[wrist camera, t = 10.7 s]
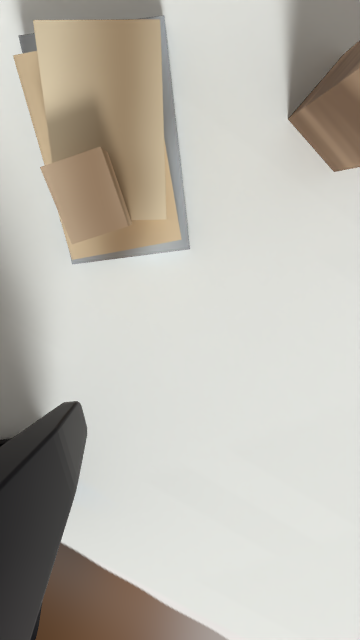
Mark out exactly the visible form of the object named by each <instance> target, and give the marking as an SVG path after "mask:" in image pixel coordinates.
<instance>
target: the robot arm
mask: <svg viewBox="0 0 360 640" xmlns="http://www.w3.org/2000/svg"><path fill="white" fill-rule="evenodd" d="M86 438H87V425H86V422H85V418H84V414H83V410H82V406H81V404H80V403H79V402H78V401H74V402H64V403H62V404H60V405H59V406H58V407H56V408H55V409H53V410H52V411H51V412H49V413H48V414H46V415H45V416H43V417H42V418H41V419H39V420H38V421H36V422H35V423H34V424H32V425H31V426H29V427H28V428H26V429H25V430H24V431H22V432H21V433H19V434H18V435H17V436H15V437H14V438H12V439H8V440H0V640H35V639H36V635H37V631H38V626H39V620H40V613H41V606H42V600H43V596H44V594H45V590H46V587H47V584H48V581H49V577H50V574H51V571H52V568H53V564H54V561H55V558H56V555H57V551H58V548H59V545H60V542H61V539H62V535H63V532H64V529H65V526H66V523H67V519H68V516H69V513H70V510H71V506H72V503H73V500H74V496H75V493H76V489H77V484H78V479H79V474H80V469H81V464H82V459H83V453H84V448H85V443H86Z"/></svg>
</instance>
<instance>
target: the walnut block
mask: <svg viewBox="0 0 360 640" xmlns="http://www.w3.org/2000/svg"><path fill="white" fill-rule="evenodd" d="M288 120H289V121H290V122H291V123H292V124H293V125H294V127H295V128H296V129H297V130H298V131H299V132H300V133H301V135H302V136H303V137H304V138H305V139H306V140H307V142H308V143H309V144H310V145H311V146H312V147H313V148H314V150H315V151H316V152H317V153H318V154H319V155H320V156H321V158H322V159H323V160H324V161H325V162H326V163H327V164H328V166H329V167H330V168H331V169H332V170H333V171H334V172H336V171H341V170H346V169H351V168H357V167H360V41H359V42H357V43H356V44H355V45H354V46H353V47H352V48H350V49H349V50H348V51H347V52H346V53H345V54H344V55H343V56H342V57H341V58H340V59H339V60H338V62H337V63H336V64H335V65H334V66H333V67H332V69H331V70H330V71H329V72H328V73H327V74H326V76H325V77H324V78H323V79H322V80H321V81H320V83H319V84H318V85H317V86H316V87H315V88H314V90H313V91H312V92H311V93H310V94H309V95H308V96H307V98H306V99H305V100H304V101H303V102H302V103H301V105H300V106H299V107H298V108H297V109H296V110H295V112H294V113H293V114H292V115H291V116H290V117H289V119H288Z"/></svg>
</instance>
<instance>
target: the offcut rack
mask: <svg viewBox="0 0 360 640" xmlns="http://www.w3.org/2000/svg"><path fill="white" fill-rule="evenodd" d="M33 24H34V31H35V33H33V34H26V35H19V40H20V44H21V48H22V53H23V54H18V55H13V57H14V60H15V64H16V67H17V71H18V74H19V78H20V81H21V85H22V88H23V92H24V95H25V99H26V102H27V106H28V109H29V112H30V116H31V119H32V123H33V126H34V130H35V133H36V137H37V140H38V144H39V147H40V151H41V154H42V157H43V161H44V164H45V166H42V167H40V168H41V171H42V173H43V176H44V178H45V180H46V183H47V185H48V188H49V190H50V192H51V195H52V197H53V200H54V202H55V205H56V207H57V209H58V213H59V216H60V222H61V223H62V227H63V230H64V234H65V237H66V241H67V244H68V248H69V252H70V256H71V261H72V264H79V263H86V262H94V261H102V260H110V259H117V258H125V257H133V256H141V255H148V254H156V253H164V252H172V251H179V250H187V249H190V244H189V235H188V226H187V217H186V208H185V199H184V190H183V181H182V172H181V163H180V154H179V145H178V136H177V127H176V118H175V109H174V100H173V91H172V82H171V73H170V64H169V55H168V46H167V37H166V28H165V19H164V16H156V17H149V18H142V19H128V20H33Z"/></svg>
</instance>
